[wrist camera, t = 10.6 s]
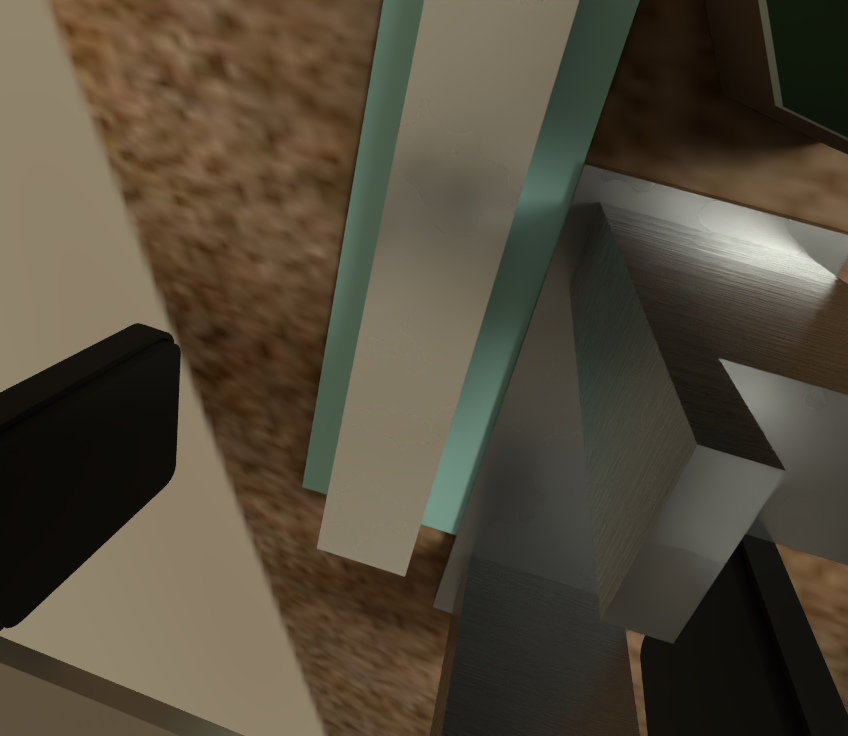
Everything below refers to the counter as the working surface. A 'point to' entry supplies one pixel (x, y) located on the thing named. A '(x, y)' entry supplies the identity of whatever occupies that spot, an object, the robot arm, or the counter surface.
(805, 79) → the beer bottle
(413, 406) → the rail
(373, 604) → the counter surface
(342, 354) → the mat
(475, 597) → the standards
